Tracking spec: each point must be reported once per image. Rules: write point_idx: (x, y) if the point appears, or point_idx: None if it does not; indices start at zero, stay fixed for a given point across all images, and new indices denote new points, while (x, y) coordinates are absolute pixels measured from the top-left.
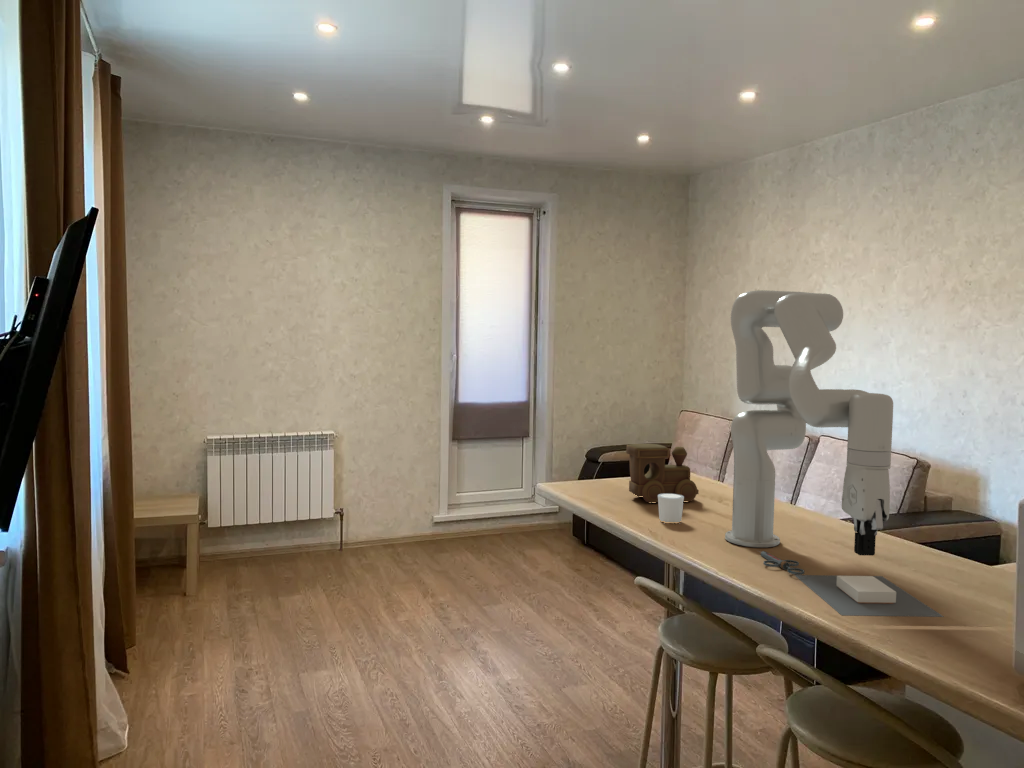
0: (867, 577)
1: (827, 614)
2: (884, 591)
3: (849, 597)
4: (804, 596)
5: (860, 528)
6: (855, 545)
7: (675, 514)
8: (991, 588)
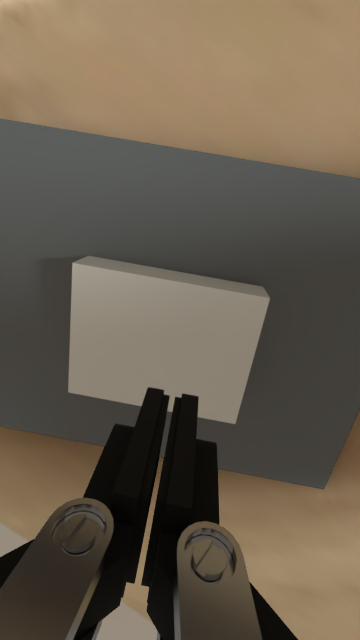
0: (225, 399)
1: (16, 79)
2: (72, 358)
3: (153, 265)
4: (215, 97)
5: (89, 566)
6: (181, 421)
7: None
8: None
